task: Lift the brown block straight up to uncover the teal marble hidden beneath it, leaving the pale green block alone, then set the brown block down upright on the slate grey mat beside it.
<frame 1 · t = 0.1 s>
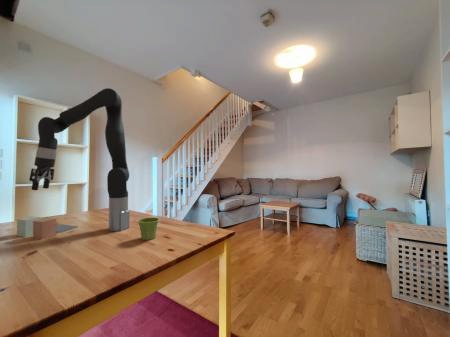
hand: (40, 189, 99), 22 cm above the table, tool pointing down, fingers open, 8 cm apart
plant pot: (148, 238, 94), on the table
teal marble: (44, 233, 95), in the brown block
pale green block: (28, 234, 98), on the table
slate mat: (60, 228, 107), on the table
brown block: (44, 236, 95), on the table
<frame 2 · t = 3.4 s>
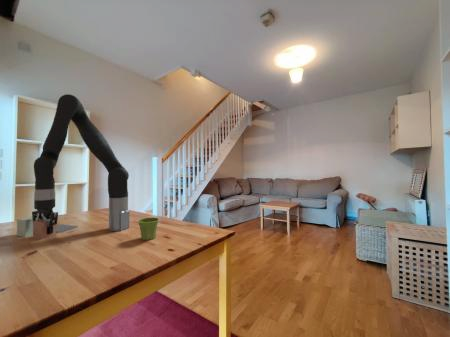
hand: (44, 233, 95), 2 cm above the table, tool pointing down, fingers closed on brown block, 6 cm apart
brown block: (44, 236, 95), on the table, touching gripper
everything else where it was.
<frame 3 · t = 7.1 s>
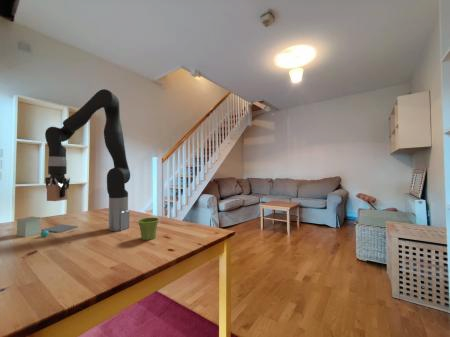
hand: (57, 197, 105), 18 cm above the table, tool pointing down, fingers closed on brown block, 6 cm apart
brown block: (57, 200, 105), point 16 cm above the table, touching gripper
everything else where it was.
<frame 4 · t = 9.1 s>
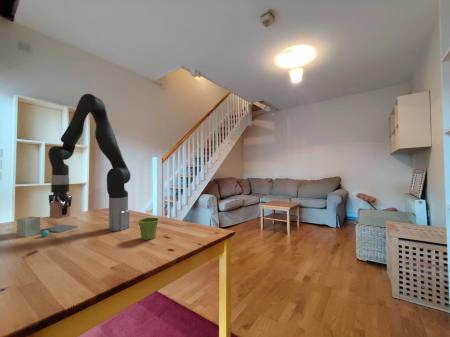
hand: (59, 214, 107), 8 cm above the table, tool pointing down, fingers closed on brown block, 6 cm apart
brown block: (59, 217, 107), point 6 cm above the table, touching gripper
everything else where it was.
when the fingers open (4 cm above the table, at t = 10.9 s): brown block drops 1 cm, resting on slate mat.
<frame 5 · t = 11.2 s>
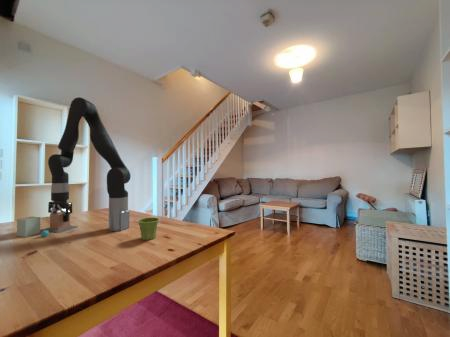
hand: (60, 221, 107), 4 cm above the table, tool pointing down, fingers open, 8 cm apart
brown block: (60, 227, 107), resting on slate mat
everything else where it was.
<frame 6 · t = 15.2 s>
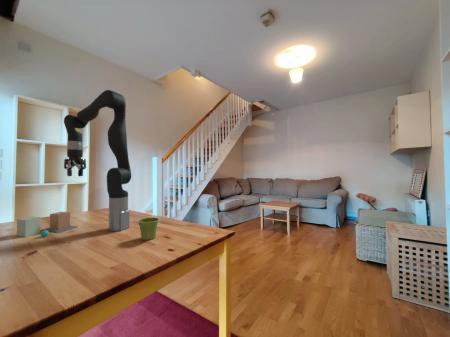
hand: (74, 176, 119), 28 cm above the table, tool pointing down, fingers open, 8 cm apart
nothing on the table moved.
at the end: brown block inside the target area on the slate mat (0.1 cm from its centre), point 0.5 cm above the slate mat's base; brown block tilted 0°; the gripper is holding nothing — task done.
